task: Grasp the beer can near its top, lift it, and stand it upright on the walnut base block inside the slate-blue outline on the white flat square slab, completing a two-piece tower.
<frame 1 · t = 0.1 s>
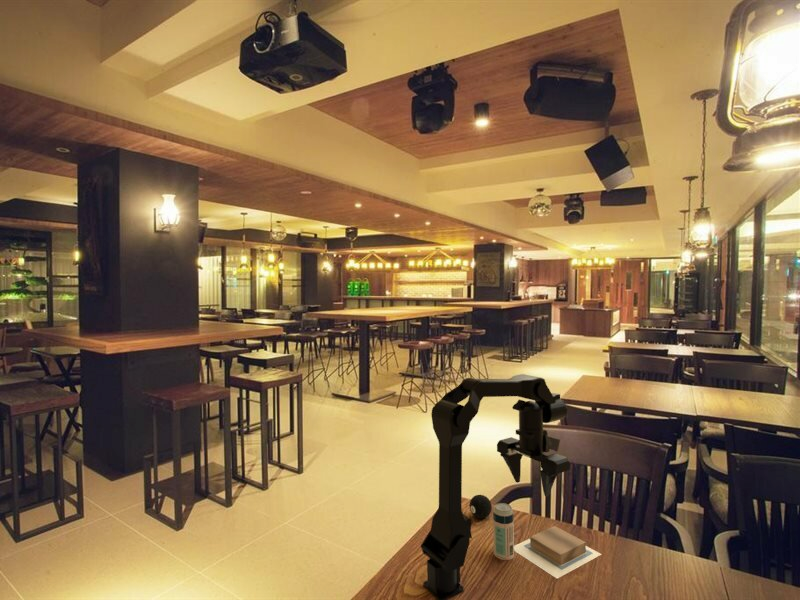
hand: (531, 488, 110), 14 cm above the table, fingers open, 9 cm apart
billiard ball: (480, 517, 125), on the table
beer can: (503, 557, 106), on the table
base block: (557, 549, 108), point 1 cm above the table, touching white flat square slab
white flat square slab: (555, 553, 107), on the table
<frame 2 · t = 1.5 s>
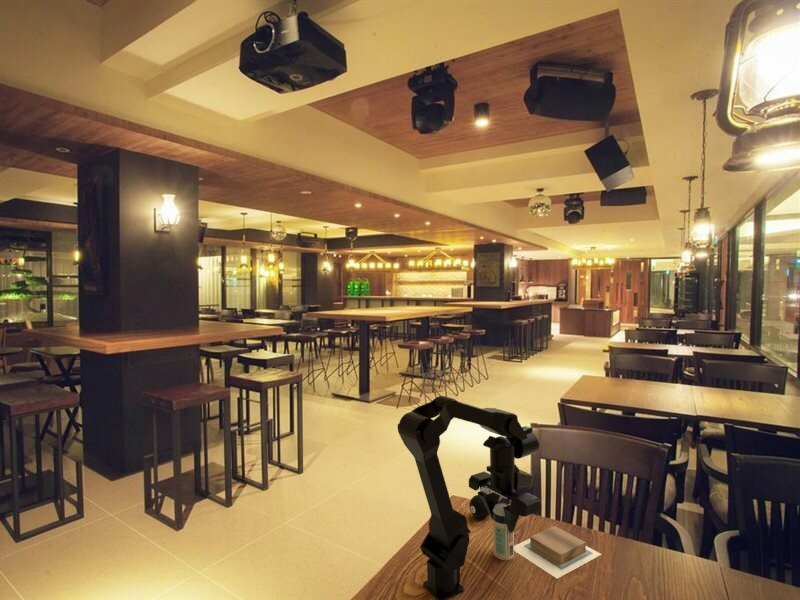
hand: (503, 527, 106), 7 cm above the table, fingers closed on beer can, 5 cm apart
beer can: (503, 557, 106), on the table, touching gripper
everything else where it was.
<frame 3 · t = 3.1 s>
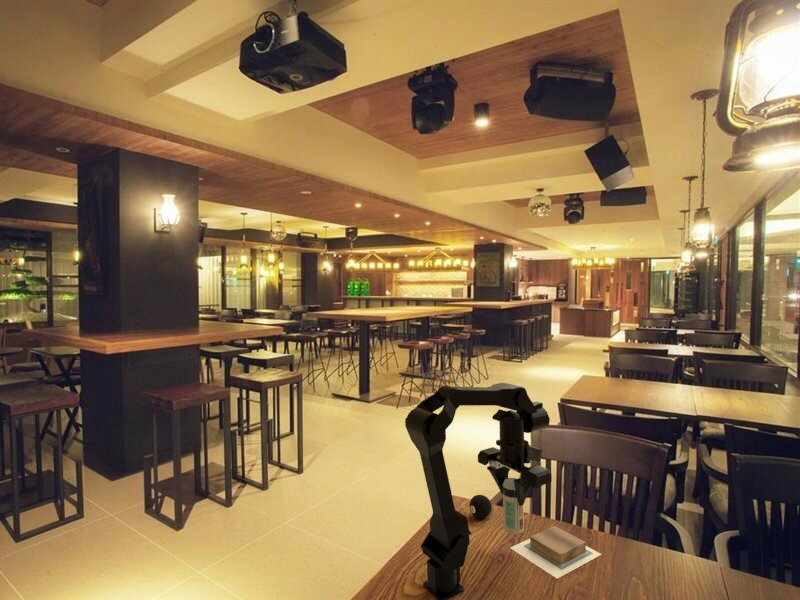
hand: (513, 501, 107), 13 cm above the table, fingers closed on beer can, 5 cm apart
beer can: (513, 531, 107), point 6 cm above the table, touching gripper
everything else where it was.
when the fingers open (11 cm above the table, at t = 4.5 s): beer can stays where it is, resting on base block.
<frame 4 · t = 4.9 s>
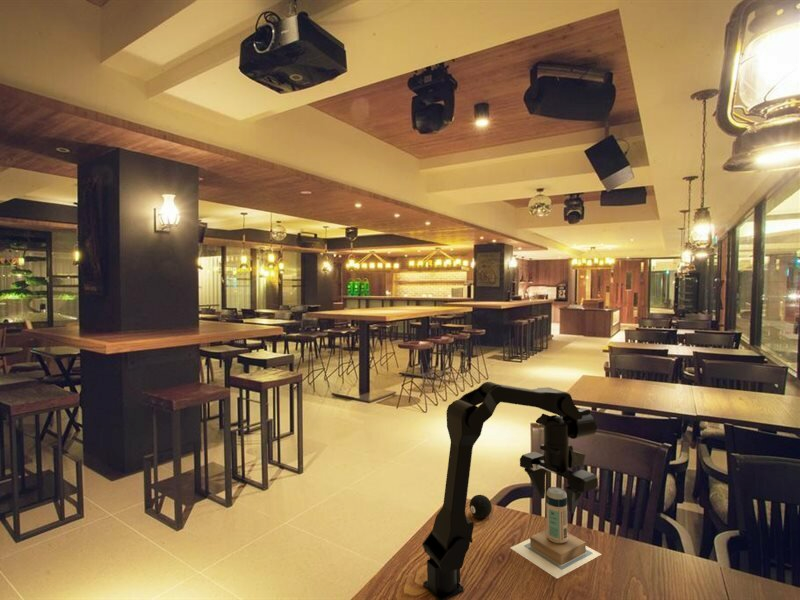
hand: (556, 505, 107), 11 cm above the table, fingers open, 8 cm apart
beer can: (557, 540, 108), point 3 cm above the table, touching base block
base block: (557, 549, 108), point 1 cm above the table, touching beer can, white flat square slab
everything else where it was.
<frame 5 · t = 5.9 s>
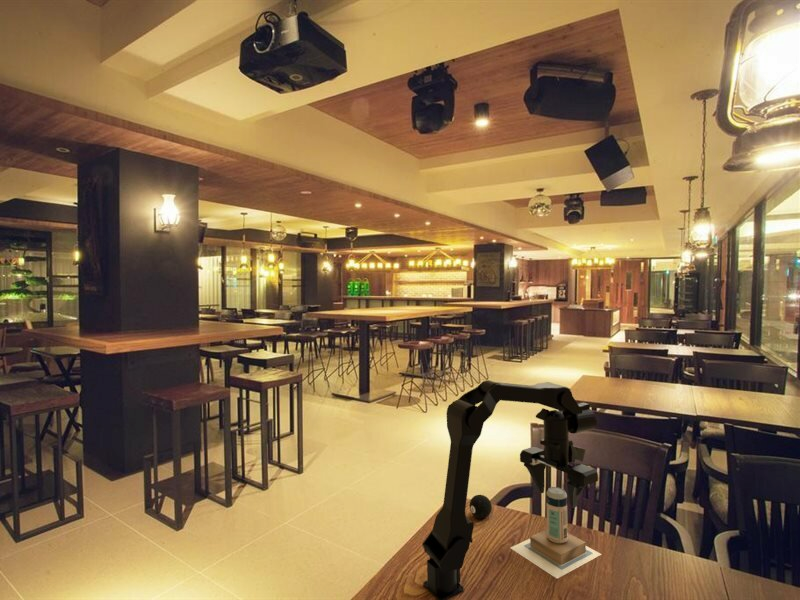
hand: (557, 500, 107), 13 cm above the table, fingers open, 9 cm apart
nothing on the table moved.
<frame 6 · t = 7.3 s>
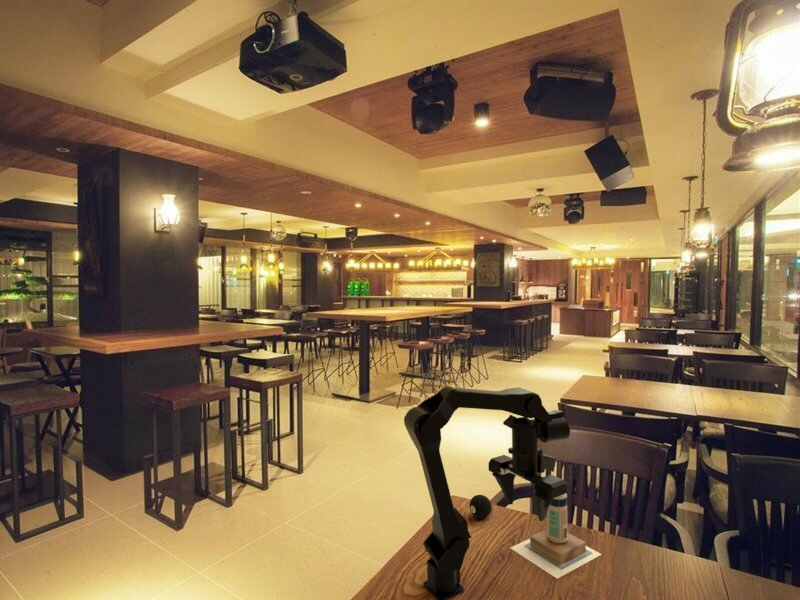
hand: (525, 512, 102), 13 cm above the table, fingers open, 9 cm apart
nothing on the table moved.
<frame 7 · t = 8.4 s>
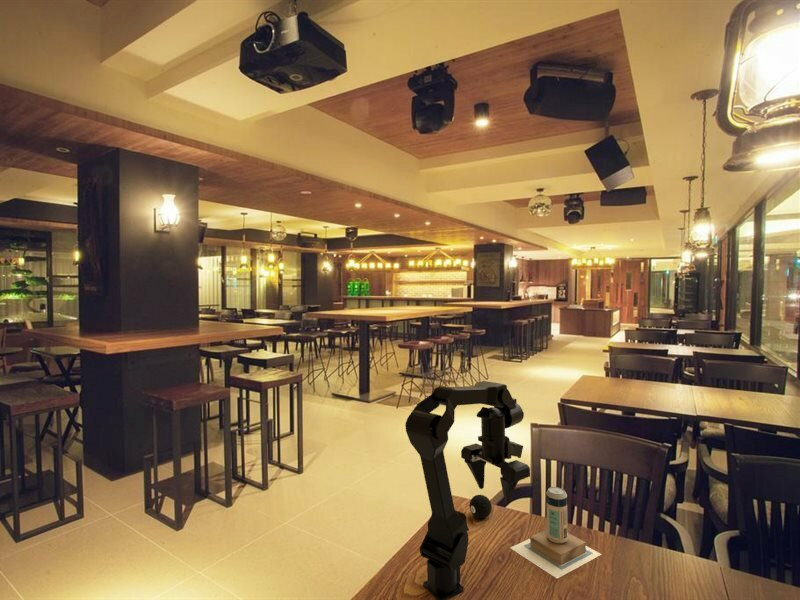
hand: (494, 495, 110), 13 cm above the table, fingers open, 9 cm apart
nothing on the table moved.
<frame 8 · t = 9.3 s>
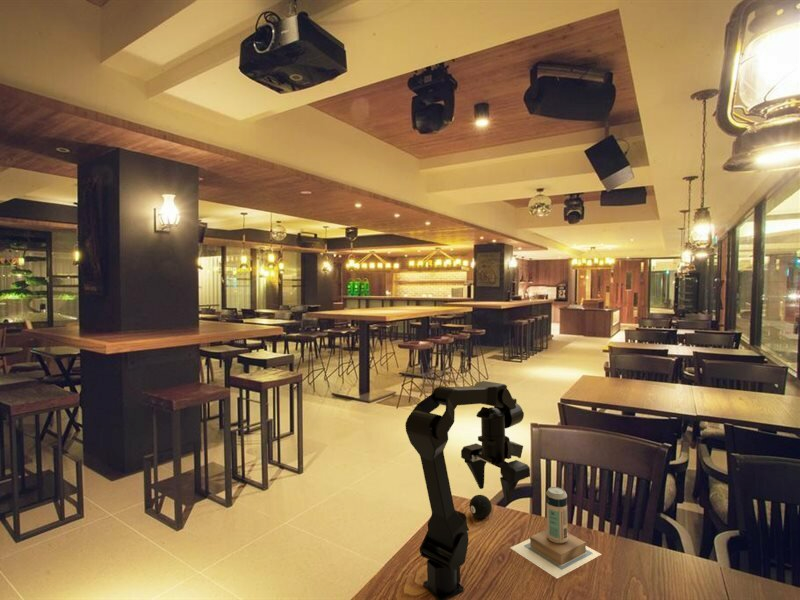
hand: (494, 495, 110), 13 cm above the table, fingers open, 9 cm apart
nothing on the table moved.
at the end: beer can 0.1 cm off-centre on the base block, point 2.3 cm above the base block's base; beer can tilted 0°; the gripper is holding nothing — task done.
